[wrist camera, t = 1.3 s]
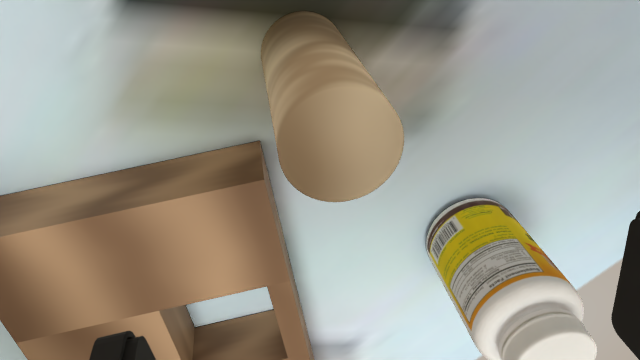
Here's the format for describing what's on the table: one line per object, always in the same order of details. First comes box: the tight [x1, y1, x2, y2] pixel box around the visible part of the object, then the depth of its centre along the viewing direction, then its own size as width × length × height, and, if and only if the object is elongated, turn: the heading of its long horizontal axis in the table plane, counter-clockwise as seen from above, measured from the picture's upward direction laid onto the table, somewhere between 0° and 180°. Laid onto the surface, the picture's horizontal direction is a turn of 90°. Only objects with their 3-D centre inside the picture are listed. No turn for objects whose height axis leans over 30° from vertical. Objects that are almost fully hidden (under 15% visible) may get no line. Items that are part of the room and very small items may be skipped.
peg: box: [261, 11, 404, 202], centre depth 20 cm, size 4×4×10 cm
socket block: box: [0, 141, 314, 360], centre depth 29 cm, size 14×18×4 cm
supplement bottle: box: [426, 198, 597, 360], centre depth 27 cm, size 6×6×10 cm
